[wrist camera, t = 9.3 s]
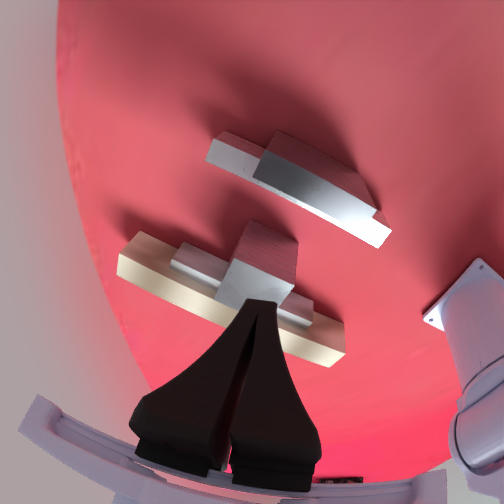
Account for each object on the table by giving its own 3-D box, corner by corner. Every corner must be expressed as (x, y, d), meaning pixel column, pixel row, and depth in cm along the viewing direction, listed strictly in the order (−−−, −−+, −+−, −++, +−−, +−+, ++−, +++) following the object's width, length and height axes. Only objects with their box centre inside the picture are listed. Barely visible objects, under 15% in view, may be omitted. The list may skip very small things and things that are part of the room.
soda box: (351, 492, 83) (348, 517, 72) (318, 493, 86) (314, 518, 76) (365, 476, 61) (363, 511, 51) (319, 478, 65) (314, 513, 55)
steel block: (298, 242, 21) (294, 285, 17) (274, 278, 24) (266, 323, 20) (249, 218, 21) (234, 257, 17) (230, 257, 23) (213, 299, 19)
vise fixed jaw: (350, 317, 25) (352, 347, 22) (329, 338, 27) (328, 367, 24) (141, 221, 23) (120, 243, 20) (135, 251, 25) (116, 274, 22)
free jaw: (395, 196, 18) (419, 237, 13) (371, 228, 19) (386, 277, 15) (233, 110, 17) (205, 123, 12) (217, 150, 18) (185, 177, 14)
